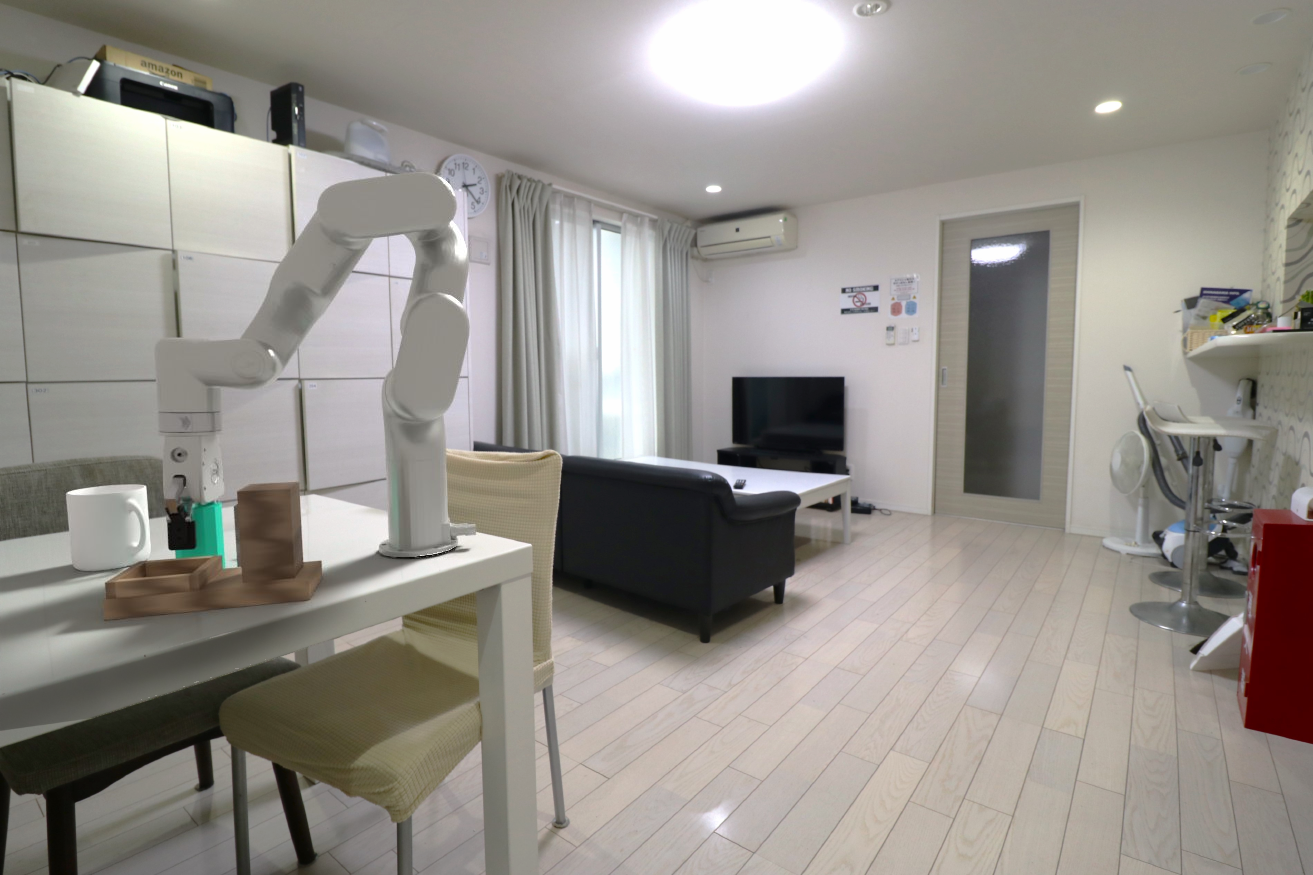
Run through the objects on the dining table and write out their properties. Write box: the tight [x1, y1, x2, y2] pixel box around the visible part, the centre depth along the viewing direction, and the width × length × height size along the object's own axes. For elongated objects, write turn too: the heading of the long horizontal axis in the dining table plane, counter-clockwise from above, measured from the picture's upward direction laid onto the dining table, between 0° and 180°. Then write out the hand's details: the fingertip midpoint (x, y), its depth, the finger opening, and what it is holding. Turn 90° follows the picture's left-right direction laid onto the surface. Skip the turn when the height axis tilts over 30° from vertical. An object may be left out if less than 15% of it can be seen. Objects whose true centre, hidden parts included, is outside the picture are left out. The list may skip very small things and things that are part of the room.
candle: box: [174, 501, 227, 569], centre depth 94 cm, size 6×6×12 cm
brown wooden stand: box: [102, 481, 323, 621], centre depth 84 cm, size 22×10×14 cm, turn 109°
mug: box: [65, 484, 152, 572], centre depth 100 cm, size 10×12×12 cm
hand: (195, 541), depth 94 cm, fingers open, 9 cm apart
